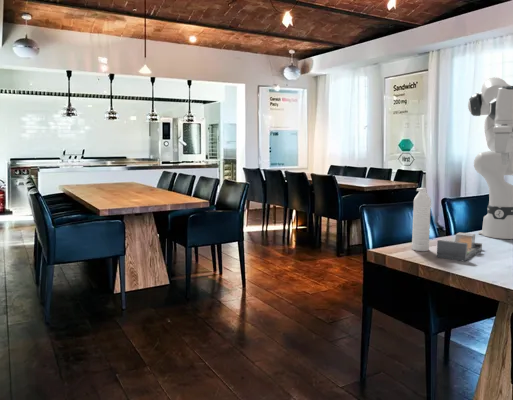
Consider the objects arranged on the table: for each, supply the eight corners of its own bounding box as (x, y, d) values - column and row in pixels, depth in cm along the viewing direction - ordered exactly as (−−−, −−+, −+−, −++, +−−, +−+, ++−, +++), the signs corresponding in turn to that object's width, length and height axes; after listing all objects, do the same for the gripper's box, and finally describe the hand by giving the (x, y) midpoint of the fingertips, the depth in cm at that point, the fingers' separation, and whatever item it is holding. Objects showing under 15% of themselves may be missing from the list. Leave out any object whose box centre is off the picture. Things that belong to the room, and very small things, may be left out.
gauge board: (455, 246, 189) (456, 231, 189) (481, 249, 183) (482, 234, 182) (436, 256, 171) (437, 240, 170) (465, 261, 165) (466, 244, 164)
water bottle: (414, 247, 187) (416, 186, 184) (430, 249, 184) (433, 187, 181) (408, 251, 180) (410, 188, 177) (425, 253, 177) (427, 189, 174)
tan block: (458, 244, 185) (459, 232, 185) (474, 246, 182) (475, 234, 181) (455, 246, 182) (455, 234, 181) (471, 248, 178) (471, 236, 177)
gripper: (503, 129, 185) (501, 163, 187) (492, 128, 169) (489, 165, 171) (521, 129, 181) (519, 164, 183) (511, 127, 165) (508, 165, 167)
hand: (504, 164), depth 177 cm, fingers closed
